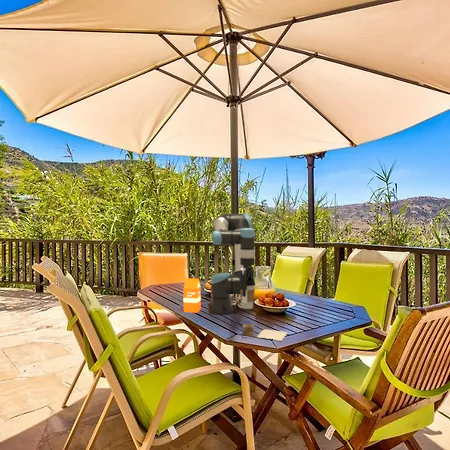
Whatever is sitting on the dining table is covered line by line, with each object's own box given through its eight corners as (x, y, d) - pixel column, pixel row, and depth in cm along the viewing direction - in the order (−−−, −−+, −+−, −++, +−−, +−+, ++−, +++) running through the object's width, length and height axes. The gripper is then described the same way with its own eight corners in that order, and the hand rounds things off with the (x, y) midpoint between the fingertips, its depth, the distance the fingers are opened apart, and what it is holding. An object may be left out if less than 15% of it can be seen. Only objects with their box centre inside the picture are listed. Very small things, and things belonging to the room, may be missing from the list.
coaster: (256, 338, 156) (256, 336, 156) (264, 330, 167) (264, 329, 167) (281, 342, 152) (281, 340, 152) (287, 333, 163) (287, 332, 163)
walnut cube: (242, 337, 158) (242, 327, 158) (243, 333, 163) (243, 323, 163) (252, 337, 157) (253, 327, 157) (253, 334, 162) (253, 324, 162)
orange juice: (197, 312, 201) (197, 279, 201) (183, 311, 203) (183, 279, 202) (200, 309, 208) (200, 277, 208) (187, 308, 210) (187, 277, 210)
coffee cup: (254, 305, 179) (254, 277, 179) (256, 309, 171) (256, 280, 170) (238, 305, 179) (238, 277, 178) (239, 309, 170) (240, 280, 170)
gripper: (247, 260, 163) (247, 306, 164) (260, 255, 182) (259, 296, 182) (233, 259, 166) (233, 304, 167) (247, 254, 185) (247, 295, 185)
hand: (247, 300), depth 175 cm, fingers closed on coffee cup, 8 cm apart
